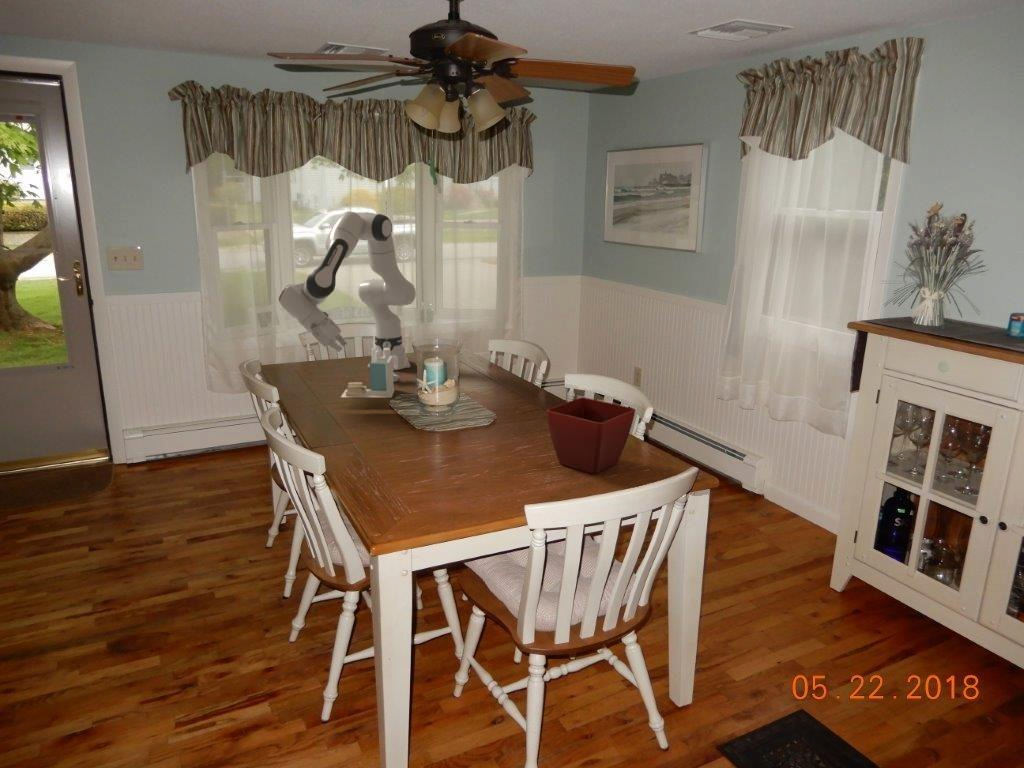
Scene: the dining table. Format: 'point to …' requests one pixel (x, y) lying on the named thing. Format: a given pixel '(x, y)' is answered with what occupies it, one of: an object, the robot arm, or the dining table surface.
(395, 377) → the figurine
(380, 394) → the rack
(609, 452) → the plant pot
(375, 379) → the tall board
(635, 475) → the dining table surface
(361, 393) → the plate
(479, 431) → the dining table surface
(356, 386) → the offcut top
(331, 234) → the robot arm
